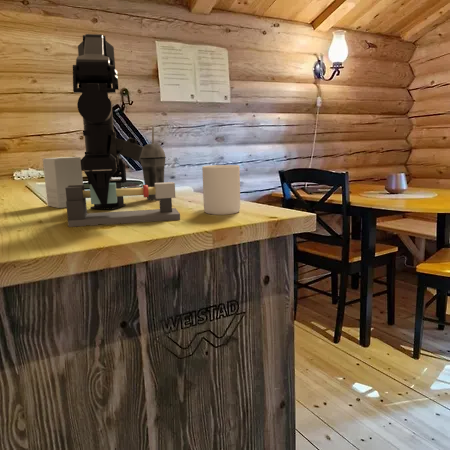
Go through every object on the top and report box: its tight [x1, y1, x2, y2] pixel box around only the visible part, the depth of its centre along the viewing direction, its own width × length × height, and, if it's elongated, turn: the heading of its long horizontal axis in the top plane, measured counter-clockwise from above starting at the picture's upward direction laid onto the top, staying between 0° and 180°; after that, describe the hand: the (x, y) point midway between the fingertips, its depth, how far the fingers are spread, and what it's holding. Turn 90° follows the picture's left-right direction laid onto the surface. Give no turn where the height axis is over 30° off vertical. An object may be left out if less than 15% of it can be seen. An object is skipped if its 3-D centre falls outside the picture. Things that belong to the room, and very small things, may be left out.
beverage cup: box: [139, 126, 167, 201], centre depth 117 cm, size 7×7×20 cm
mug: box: [201, 164, 241, 216], centre depth 96 cm, size 12×8×10 cm
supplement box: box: [42, 156, 84, 209], centre depth 110 cm, size 7×7×13 cm
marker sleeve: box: [89, 183, 117, 205], centre depth 86 cm, size 5×4×4 cm
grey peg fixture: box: [65, 181, 181, 228], centre depth 88 cm, size 22×8×8 cm, turn 103°
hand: (104, 202), depth 87 cm, fingers closed on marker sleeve, 4 cm apart
